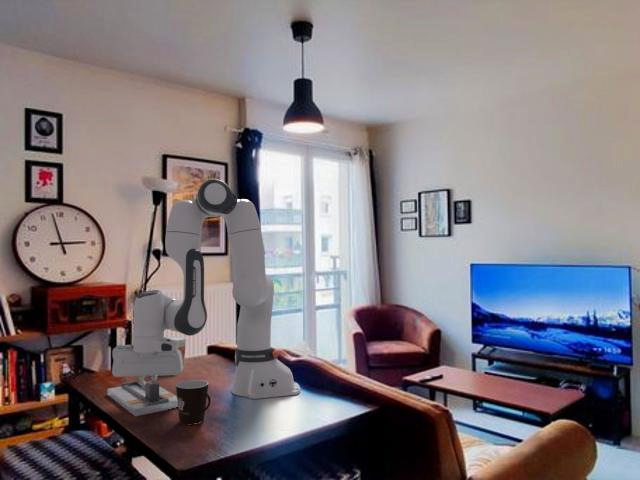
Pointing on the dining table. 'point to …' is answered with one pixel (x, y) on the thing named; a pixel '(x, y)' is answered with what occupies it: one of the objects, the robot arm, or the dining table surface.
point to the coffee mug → (192, 400)
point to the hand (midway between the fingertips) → (147, 390)
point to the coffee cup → (180, 346)
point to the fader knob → (152, 391)
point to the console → (141, 399)
